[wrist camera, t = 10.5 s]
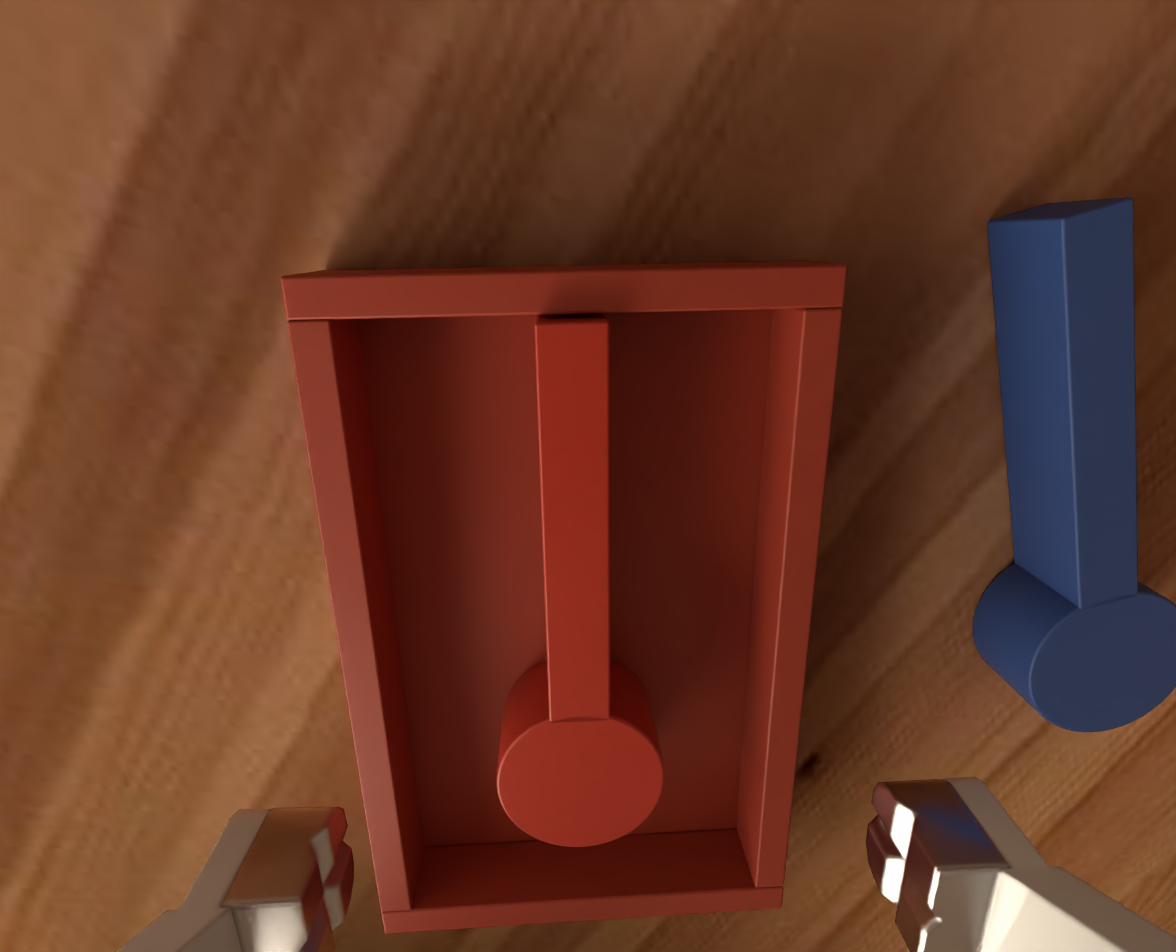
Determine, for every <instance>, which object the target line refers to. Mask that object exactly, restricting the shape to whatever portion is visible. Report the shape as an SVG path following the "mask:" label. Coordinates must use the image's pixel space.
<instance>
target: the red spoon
mask: <svg viewBox="0 0 1176 952" xmlns="http://www.w3.org/2000/svg"><path fill="white" fill-rule="evenodd" d="M534 334H535V360H536V387H537V413H538V439H539V466H540V492H541V518H542V545H543V571H544V597H545V623H546V650H547V661H544V662H542V663H540V664H538V665H536V666H535V667H533V668H532V669H530V670H529V671H528V672H526V673H525V674H524V675H523V676H522V677H521V678H520V679H519V680H518V681H517V682H516V683H515V685H514V686H513V687H512V689H511V690H510V692H509V694H508V696H507V698H506V701H505V704H504V708H503V714H502V724H501V735H500V745H499V755H498V766H497V776H496V786H497V793H498V796H499V799H500V803H501V805H502V806H503V808H504V810H505V812H506V814H507V815H508V816H509V818H510V819H511V820H512V821H513V822H514V823H515V824H516V825H517V826H518V827H519V828H520V829H522V830H523V831H524V832H526V833H527V834H529V835H531V836H532V837H534V838H537V839H539V840H541V841H544V842H547V843H550V844H554V845H559V846H567V847H586V846H594V845H599V844H604V843H607V842H610V841H613V840H615V839H618V838H620V837H622V836H624V835H626V834H628V833H629V832H631V831H632V830H634V829H635V828H637V827H638V826H639V825H640V824H641V823H643V822H644V821H645V820H646V819H647V818H648V816H649V815H650V814H651V813H652V812H653V810H654V808H655V807H656V805H657V803H658V801H659V799H660V797H661V794H662V790H663V787H664V780H665V770H664V764H663V759H662V755H661V750H660V746H659V741H658V737H657V732H656V728H655V723H654V718H653V714H652V709H651V705H650V700H649V697H648V695H647V692H646V690H645V688H644V687H643V685H642V684H641V682H640V681H639V680H638V679H637V677H636V676H634V675H633V674H632V673H631V672H630V671H629V670H628V669H626V668H625V667H623V666H622V665H620V664H618V663H616V662H614V661H612V660H610V326H609V322H608V321H607V319H606V318H605V317H604V315H603V314H602V313H586V314H543V315H536V318H535V324H534Z"/></svg>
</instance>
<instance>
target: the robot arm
mask: <svg viewBox="0 0 1176 952" xmlns="http://www.w3.org/2000/svg"><path fill="white" fill-rule="evenodd" d="M872 804H873V806H874V808H875V810H876V811H877V813H878V815H877V816H876V817H875V818H874V819H873V820H872V821H871V822H870V823H869V824H868V828H867V837H866V847H867V854H868V862H869V865H870V868H871V871H872V874H873V877H874V879H875V881H876V883H877V886H878V888H879V890H880V892H881V893H882V894H883V895H884V896H886V897H887V898H888V899H889V900H891V901H892V902H893V903H894V904H896V905H897V906H898V907H897V913H896V918H895V923H896V925H897V927H898V929H899V931H900V933H901V935H902V937H903V939H904V941H905V943H906V945H907V947H908V949H909V951H910V952H1176V938H1175V937H1174V936H1172V935H1170V934H1169V933H1167V932H1166V931H1164V930H1162V929H1161V928H1159V927H1157V926H1156V925H1154V924H1153V923H1151V922H1149V921H1148V920H1146V919H1144V918H1143V917H1141V916H1140V915H1138V914H1136V913H1135V912H1133V911H1131V910H1130V909H1128V908H1126V907H1125V906H1123V905H1122V904H1120V903H1118V902H1117V901H1115V900H1113V899H1112V898H1110V897H1109V896H1107V895H1105V894H1104V893H1102V892H1100V891H1099V890H1097V889H1096V888H1094V887H1092V886H1091V885H1089V884H1087V883H1086V882H1084V881H1082V880H1081V879H1079V878H1078V877H1076V876H1074V875H1073V874H1071V873H1069V872H1068V871H1066V870H1065V869H1063V868H1061V867H1049V865H1048V864H1047V863H1046V861H1045V860H1044V859H1043V858H1042V856H1041V855H1040V854H1039V853H1038V851H1037V850H1036V849H1035V847H1034V846H1033V845H1032V844H1031V842H1030V841H1029V840H1028V838H1027V837H1026V836H1025V835H1024V833H1023V832H1022V831H1021V830H1020V828H1019V827H1018V826H1017V824H1016V823H1015V822H1014V821H1013V819H1012V818H1011V817H1010V816H1009V814H1008V813H1007V812H1006V810H1005V809H1004V808H1003V807H1002V805H1001V804H1000V803H999V801H998V800H997V799H996V798H995V796H994V795H993V794H992V793H991V791H990V790H989V789H988V787H987V786H986V785H985V784H984V783H983V782H982V781H981V780H979V779H978V778H976V777H964V778H946V779H942V780H940V779H929V780H911V781H893V782H878V784H877V785H876V787H875V788H874V791H873V796H872ZM346 829H347V821H346V817H345V812H344V809H343V808H340V807H300V808H273V809H240V810H238V811H237V812H236V813H235V814H234V815H233V816H232V817H231V818H230V819H229V821H228V823H227V824H226V826H225V828H224V830H223V831H222V833H221V835H220V837H219V839H218V840H217V842H216V844H215V846H214V847H213V849H212V851H211V853H210V855H209V856H208V858H207V860H206V862H205V863H204V865H203V867H202V869H201V871H200V872H199V874H198V876H197V878H196V879H195V881H194V883H193V885H192V886H191V888H190V890H189V892H188V894H187V895H186V897H185V899H184V901H183V902H182V904H181V906H180V908H179V910H168V911H166V912H165V913H164V914H162V915H161V916H160V917H159V918H157V919H156V920H155V921H154V922H152V923H151V924H150V925H148V926H147V927H146V928H145V929H143V930H142V931H141V932H140V933H138V934H137V935H136V936H134V937H133V938H132V939H131V940H129V941H128V942H127V943H126V944H124V945H123V946H122V947H120V948H119V949H118V950H117V951H115V952H335V946H334V940H333V935H332V932H333V931H334V930H335V929H336V928H337V927H338V926H339V925H340V924H341V923H342V922H343V921H344V920H345V917H346V914H347V910H348V907H349V904H350V900H351V893H352V886H353V879H354V861H353V855H352V849H351V848H350V847H349V846H348V845H347V844H346V843H345V842H343V841H342V840H343V838H344V835H345V832H346Z"/></svg>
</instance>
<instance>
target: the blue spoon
mask: <svg viewBox="0 0 1176 952" xmlns="http://www.w3.org/2000/svg"><path fill="white" fill-rule="evenodd" d="M988 237H989V249H990V262H991V274H992V287H993V299H994V311H995V324H996V336H997V349H998V361H999V374H1000V386H1001V398H1002V411H1003V423H1004V436H1005V448H1006V460H1007V473H1008V485H1009V498H1010V510H1011V523H1012V535H1013V547H1014V560H1015V563H1014V564H1012V565H1011V566H1009V567H1008V568H1006V569H1005V570H1004V571H1003V572H1002V573H1000V574H999V575H998V576H997V577H996V578H995V579H994V580H993V581H992V583H991V584H990V585H989V586H988V588H987V589H986V590H985V592H984V593H983V595H982V597H981V599H980V601H979V603H978V605H977V608H976V611H975V615H974V619H973V637H974V642H975V645H976V647H977V650H978V652H979V653H980V655H981V657H982V658H983V659H984V660H985V661H986V663H987V664H989V665H990V666H991V667H992V668H993V669H994V670H995V671H996V672H997V673H998V674H999V675H1000V676H1001V677H1002V678H1003V679H1004V680H1005V681H1006V682H1007V683H1008V684H1009V685H1010V686H1011V687H1012V688H1013V689H1014V690H1015V691H1016V692H1017V693H1018V694H1020V695H1021V696H1022V697H1023V698H1024V699H1025V700H1026V701H1027V702H1028V703H1029V704H1030V705H1031V706H1032V707H1033V708H1034V709H1035V710H1036V711H1037V712H1038V713H1039V714H1040V715H1041V716H1042V717H1044V718H1045V719H1046V720H1047V721H1049V722H1050V723H1052V724H1054V725H1056V726H1058V727H1061V728H1063V729H1067V730H1071V731H1076V732H1099V731H1106V730H1110V729H1114V728H1117V727H1120V726H1123V725H1126V724H1128V723H1131V722H1133V721H1135V720H1137V719H1138V718H1140V717H1142V716H1144V715H1145V714H1147V713H1148V712H1150V711H1151V710H1153V709H1154V708H1155V707H1156V706H1158V705H1159V704H1160V703H1161V702H1162V701H1163V700H1164V699H1165V698H1166V697H1167V696H1168V695H1169V694H1170V693H1171V692H1172V691H1173V690H1174V688H1175V687H1176V605H1175V604H1174V603H1173V602H1172V601H1170V600H1169V599H1167V598H1166V597H1164V596H1162V595H1160V594H1159V593H1157V592H1155V591H1153V590H1152V589H1150V588H1148V587H1147V586H1145V585H1143V584H1141V583H1140V582H1138V544H1137V458H1136V372H1135V286H1134V200H1133V198H1129V197H1128V198H1114V199H1100V200H1086V201H1072V202H1058V203H1046V204H1043V205H1039V206H1036V207H1033V208H1029V209H1026V210H1023V211H1019V212H1016V213H1012V214H1009V215H1006V216H1002V217H999V218H996V219H992V220H990V221H988Z"/></svg>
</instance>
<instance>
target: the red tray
mask: <svg viewBox="0 0 1176 952" xmlns="http://www.w3.org/2000/svg"><path fill="white" fill-rule="evenodd" d="M846 276H847V265H844V264H834V263H822V262H811V261H758V262H709V263H659V264H610V265H560V266H511V267H461V268H412V269H362V270H322V271H315V272H308V273H301V274H294V275H287V276H283V277H281V285H282V292H283V298H284V304H285V311H286V317H287V319H288V320H290V321H288V322H287V326H288V332H289V338H290V344H291V351H292V357H293V363H294V370H295V376H296V382H297V388H298V395H299V401H300V407H301V413H302V420H303V426H304V432H305V439H306V445H307V451H308V457H309V464H310V470H311V476H312V482H313V489H314V495H315V501H316V508H317V514H318V520H319V526H320V533H321V539H322V545H323V552H324V558H325V564H326V570H327V577H328V583H329V589H330V595H331V602H332V608H333V614H334V621H335V627H336V633H337V639H338V646H339V652H340V658H341V664H342V671H343V677H344V683H345V690H346V696H347V702H348V708H349V715H350V721H351V727H352V734H353V740H354V746H355V752H356V759H357V765H358V771H359V777H360V784H361V790H362V796H363V803H364V809H365V815H366V821H367V828H368V834H369V840H370V846H371V853H372V859H373V865H374V872H375V878H376V884H377V890H378V897H379V903H380V909H381V911H382V912H381V913H382V919H383V926H384V932H385V933H387V934H388V933H404V932H419V931H435V930H450V929H465V928H481V927H496V926H512V925H527V924H543V923H558V922H573V921H589V920H604V919H620V918H635V917H651V916H666V915H682V914H697V913H712V912H728V911H743V910H759V909H774V908H781V907H782V897H783V885H784V878H785V868H786V858H787V849H788V839H789V829H790V819H791V810H792V800H793V790H794V781H795V771H796V761H797V751H798V742H799V732H800V722H801V712H802V703H803V693H804V683H805V674H806V664H807V654H808V644H809V635H810V625H811V615H812V606H813V596H814V586H815V576H816V567H817V557H818V547H819V537H820V528H821V518H822V508H823V499H824V489H825V479H826V469H827V460H828V450H829V440H830V430H831V421H832V411H833V401H834V392H835V382H836V372H837V362H838V353H839V343H840V333H841V323H842V314H843V310H842V308H840V307H842V306H843V304H844V295H845V286H846ZM586 313H602V314H603V315H604V317H605V318H606V319H607V321H608V322H609V326H610V660H612V661H614V662H616V663H618V664H620V665H622V666H623V667H625V668H626V669H628V670H629V671H630V672H631V673H632V674H633V675H634V676H636V677H637V679H638V680H639V681H640V682H641V684H642V685H643V687H644V688H645V690H646V692H647V695H648V697H649V700H650V705H651V709H652V714H653V718H654V723H655V728H656V732H657V737H658V741H659V746H660V750H661V755H662V759H663V764H664V770H665V780H664V787H663V790H662V794H661V797H660V799H659V801H658V803H657V805H656V807H655V808H654V810H653V812H652V813H651V814H650V815H649V816H648V818H647V819H646V820H645V821H644V822H643V823H641V824H640V825H639V826H638V827H637V828H635V829H634V830H632V831H631V832H629V833H628V834H626V835H624V836H622V837H620V838H618V839H615V840H613V841H610V842H607V843H604V844H599V845H594V846H586V847H567V846H559V845H554V844H550V843H547V842H544V841H541V840H539V839H537V838H534V837H532V836H531V835H529V834H527V833H526V832H524V831H523V830H522V829H520V828H519V827H518V826H517V825H516V824H515V823H514V822H513V821H512V820H511V819H510V818H509V816H508V815H507V814H506V812H505V810H504V808H503V806H502V805H501V803H500V799H499V796H498V793H497V786H496V776H497V766H498V755H499V745H500V735H501V724H502V714H503V708H504V704H505V701H506V698H507V696H508V694H509V692H510V690H511V689H512V687H513V686H514V685H515V683H516V682H517V681H518V680H519V679H520V678H521V677H522V676H523V675H524V674H525V673H526V672H528V671H529V670H530V669H532V668H533V667H535V666H536V665H538V664H540V663H542V662H544V661H547V650H546V623H545V597H544V571H543V545H542V518H541V492H540V466H539V439H538V413H537V387H536V360H535V334H534V324H535V318H536V315H543V314H586Z"/></svg>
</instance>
